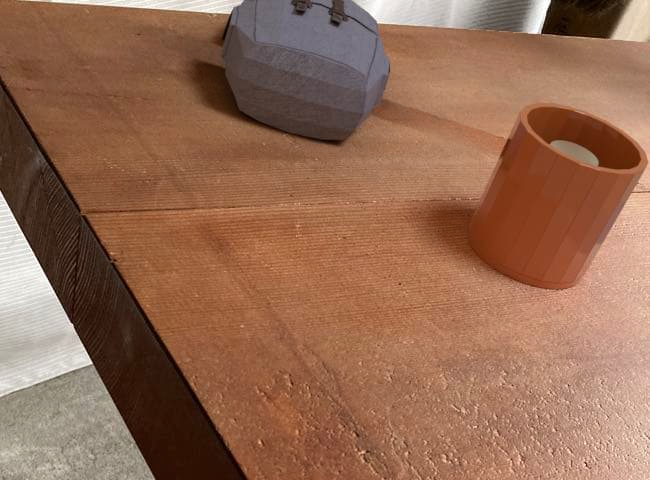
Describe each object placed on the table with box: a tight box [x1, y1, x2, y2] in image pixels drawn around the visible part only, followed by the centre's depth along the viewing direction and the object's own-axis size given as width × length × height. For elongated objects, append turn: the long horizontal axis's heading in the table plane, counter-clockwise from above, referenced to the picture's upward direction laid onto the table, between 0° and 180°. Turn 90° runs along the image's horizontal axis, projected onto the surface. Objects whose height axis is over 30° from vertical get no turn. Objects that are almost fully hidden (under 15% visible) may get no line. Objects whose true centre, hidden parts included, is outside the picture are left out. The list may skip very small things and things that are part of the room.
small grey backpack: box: [220, 0, 391, 141], centre depth 88 cm, size 15×8×20 cm
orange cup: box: [466, 102, 649, 290], centre depth 77 cm, size 10×10×10 cm
